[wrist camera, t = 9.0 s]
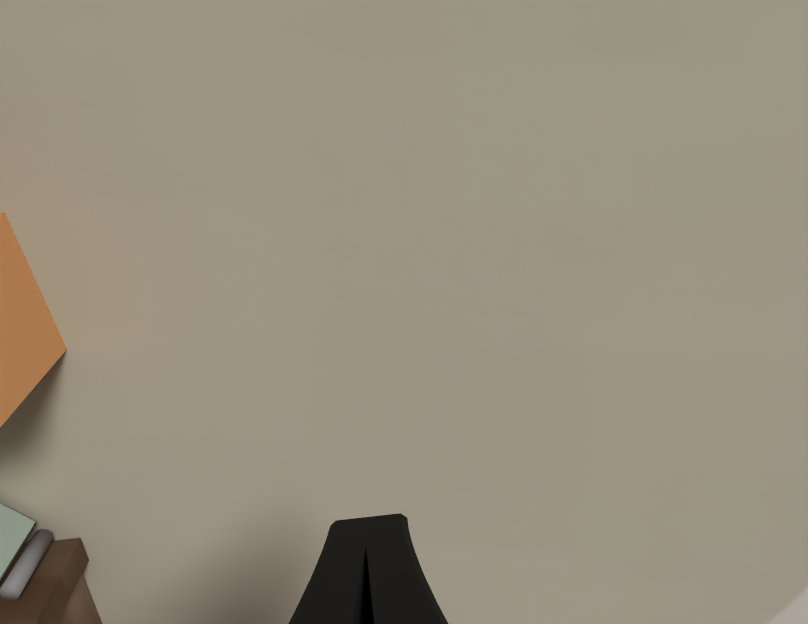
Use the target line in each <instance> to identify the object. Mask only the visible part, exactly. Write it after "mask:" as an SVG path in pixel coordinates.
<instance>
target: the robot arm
mask: <svg viewBox="0 0 808 624" xmlns="http://www.w3.org/2000/svg"><path fill="white" fill-rule="evenodd" d="M289 624H448V622H447V621H446V619H445V617H444V615H443V613H442V611H441V609H440V607H439V605H438V604H437V602H436V599H435V597H434V595H433V593H432V591H431V589H430V587H429V585H428V583H427V580H426V578H425V576H424V574H423V571H422V569H421V567H420V564H419V561H418V559H417V556H416V553H415V550H414V547H413V544H412V541H411V537H410V533H409V528H408V521H407V518H406V517H405V516H404V515H402V514H401V513H400V514H392V515H383V516H374V517H365V518H356V519H347V520H338V521H335V522H334V523H333V524H332V525H331V526H330V529H329V533H328V536H327V539H326V542H325V545H324V547H323V550H322V553H321V555H320V558H319V560H318V563H317V565H316V567H315V570H314V572H313V574H312V577H311V579H310V581H309V583H308V585H307V587H306V590H305V592H304V594H303V596H302V598H301V600H300V602H299V604H298V606H297V608H296V610H295V612H294V614H293V616H292V618H291V620H290V622H289Z"/></svg>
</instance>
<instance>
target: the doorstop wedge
mask: <svg viewBox="0 0 808 624" xmlns="http://www.w3.org/2000/svg"><path fill="white" fill-rule="evenodd" d="M66 350H67V348H66V346H65V344H64V342H63V340H62V337H61V335H60V333H59V331H58V329H57V326H56V324H55V322H54V320H53V318H52V315H51V313H50V311H49V309H48V307H47V305H46V302H45V300H44V298H43V296H42V294H41V291H40V289H39V287H38V285H37V283H36V280H35V278H34V276H33V274H32V272H31V269H30V267H29V265H28V263H27V261H26V258H25V256H24V254H23V252H22V250H21V247H20V245H19V243H18V241H17V239H16V236H15V234H14V232H13V230H12V228H11V225H10V223H9V221H8V219H7V217H6V214H5V213H1V214H0V427H1V426H2V425H3V424H4V423H5V421H6V420H7V419H8V418H9V417H10V416H11V414H12V413H13V412H14V411H15V410H16V408H17V407H18V406H19V405H20V404H21V403H22V401H23V400H24V399H25V398H26V397H27V396H28V394H29V393H30V392H31V391H32V390H33V389H34V387H35V386H36V385H37V384H38V383H39V381H40V380H41V379H42V378H43V377H44V376H45V374H46V373H47V372H48V371H49V370H50V369H51V367H52V366H53V365H54V364H55V363H56V362H57V360H58V359H59V358H60V357H61V356H62V354H63V353H64V352H65V351H66Z"/></svg>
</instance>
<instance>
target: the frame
mask: <svg viewBox="0 0 808 624" xmlns="http://www.w3.org/2000/svg"><path fill="white" fill-rule="evenodd" d="M27 545H28V544H23V546H22V547H21V549H20V550H19V552H18V554H17V555H16V557H15V558H14V560H13V562H12V563H11V565H10V566H9V568H8V569H7V571H6V573H5V574H4V576H3V577H2V579H1V581H0V588H1V587H2V585H3V584H4V582H5V580H6V579H7V577H8V575H9V574H10V572H11V571H12V569H13V567H14V566H15V564H16V563H17V561H18V559H19V558H20V556H21V555H22V553H23V551H24V550H25V548H26V546H27ZM88 560H89V559H88V557H87V554H86V551H85V549H84V546H83V543H82V541H81V538H76V539H68V540H59V541H51V543H50V544H49V546H48V548H47V549H46V551H45V553H44V555H43V556H42V558H41V560H40V562H39V563H38V565H37V567H36V568H35V570H34V572H33V574H32V575H31V577H30V579H29V580H28V582H27V584H26V586H25V587H24V589H23V591H22V592H21V594H20V596H19V598H18V599H16V600H6V599H4V598H2V597H1V596H0V624H102V623H101V620H100V618H99V615H98V613H97V610H96V607H95V605H94V602H93V600H92V597H91V595H90V592H89V589H88V587H87V584H86V582H85V579H84V577H83V574H82V573H83V571H84V569H85V567H86V564H87V562H88Z"/></svg>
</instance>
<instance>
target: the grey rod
mask: <svg viewBox="0 0 808 624" xmlns="http://www.w3.org/2000/svg"><path fill="white" fill-rule="evenodd" d="M34 524H35V521H33V520H31V519H29V518H27V517H25V516H24V515H22V514H20V513H18V512H16V511H14V510H12V509H10V508H8V507H6V506H4V505H2V504H0V578H1V576H2V574H3V573H4V571H5V570H6V568H7V566H8V565H9V563H10V562H11V560H12V559H13V557H14V555H15V554H16V552H17V551H18V549H19V547H20V546H21V544H22V543H23V541H24V540H25V538H26V536H27V535H28V533H29V532H30V530H31V528H32V527H33V525H34ZM52 539H53V536H52V534H51V533H50V532H49V531H48V530H45V529H40V530H37V531H36V532H35V534H34V535H33V537H32V538H31V540H30V542H29V543H28V545H27V546H26V548H25V550H24V551H23V553H22V555H21V556H20V558H19V559H18V561H17V563H16V564H15V566H14V567H13V569H12V571H11V572H10V574H9V575H8V577H7V579H6V580H5V582H4V584H3V585H2V587H1V588H0V596H1V597H2V598H4V599H6V600H16V599H18V598H19V596H20V594H21V592H22V591H23V589H24V587H25V586H26V584H27V582H28V580H29V579H30V577H31V575H32V574H33V572H34V570H35V568H36V567H37V565H38V563H39V562H40V560H41V558H42V556H43V555H44V553H45V551H46V549H47V548H48V546H49V544H50V543H51V541H52Z"/></svg>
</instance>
